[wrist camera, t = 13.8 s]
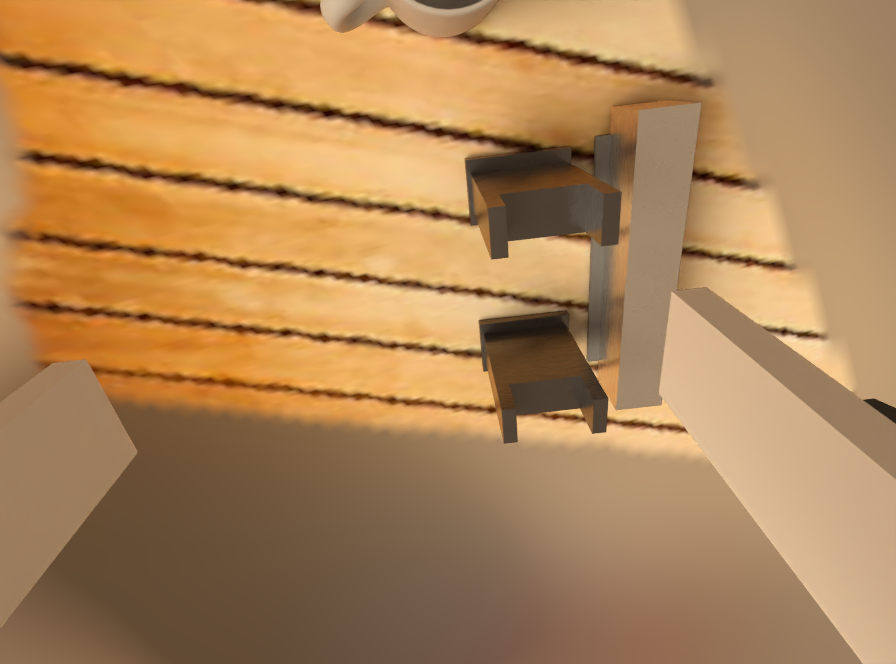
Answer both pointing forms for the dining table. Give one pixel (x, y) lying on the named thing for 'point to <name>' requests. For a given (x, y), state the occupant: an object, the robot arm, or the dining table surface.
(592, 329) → the plank
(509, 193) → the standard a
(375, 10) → the grey oval cup
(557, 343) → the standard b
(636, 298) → the rail
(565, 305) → the dining table surface
